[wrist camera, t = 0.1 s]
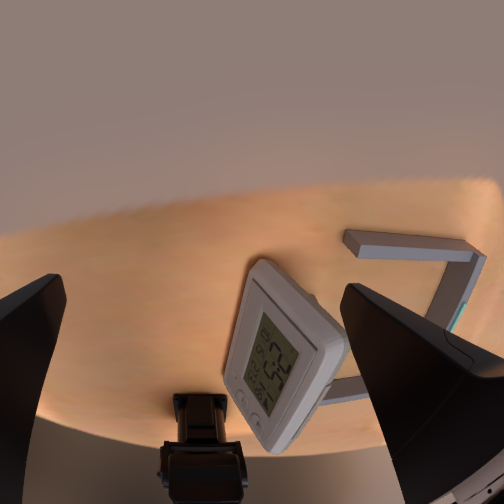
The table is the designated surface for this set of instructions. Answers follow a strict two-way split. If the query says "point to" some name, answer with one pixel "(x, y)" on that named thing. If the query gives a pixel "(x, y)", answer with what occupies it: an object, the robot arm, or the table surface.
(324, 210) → the table surface
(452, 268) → the gray bracket
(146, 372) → the table surface
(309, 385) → the digital clock
